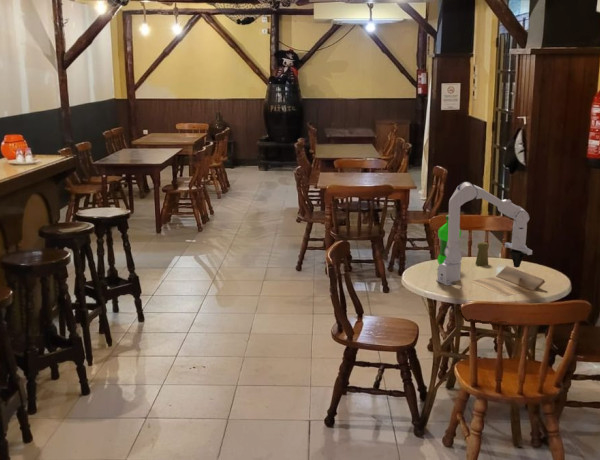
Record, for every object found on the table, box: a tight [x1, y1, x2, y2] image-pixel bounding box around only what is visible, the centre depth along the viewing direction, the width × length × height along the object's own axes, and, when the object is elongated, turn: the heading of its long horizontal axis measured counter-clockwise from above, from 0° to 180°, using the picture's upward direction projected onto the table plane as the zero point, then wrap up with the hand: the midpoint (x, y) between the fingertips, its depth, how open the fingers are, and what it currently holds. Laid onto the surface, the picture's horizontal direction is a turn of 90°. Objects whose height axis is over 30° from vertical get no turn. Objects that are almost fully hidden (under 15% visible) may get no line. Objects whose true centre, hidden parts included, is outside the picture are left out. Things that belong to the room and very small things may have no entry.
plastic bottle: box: [437, 214, 462, 266], centre depth 312 cm, size 10×10×25 cm
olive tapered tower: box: [475, 241, 490, 267], centre depth 318 cm, size 6×6×11 cm
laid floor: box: [470, 276, 531, 297], centre depth 284 cm, size 14×22×2 cm, turn 26°
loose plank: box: [496, 265, 546, 292], centre depth 288 cm, size 7×22×2 cm
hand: (516, 266), depth 290 cm, fingers closed
